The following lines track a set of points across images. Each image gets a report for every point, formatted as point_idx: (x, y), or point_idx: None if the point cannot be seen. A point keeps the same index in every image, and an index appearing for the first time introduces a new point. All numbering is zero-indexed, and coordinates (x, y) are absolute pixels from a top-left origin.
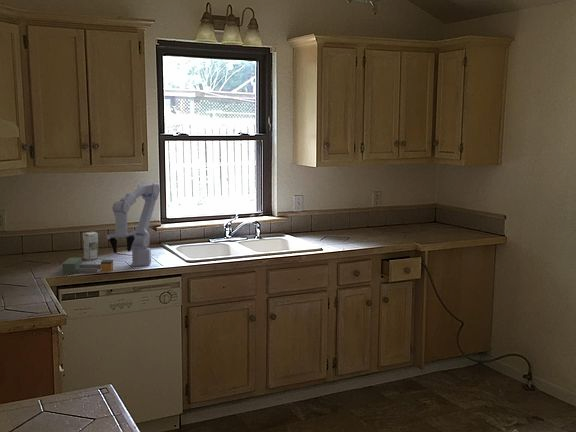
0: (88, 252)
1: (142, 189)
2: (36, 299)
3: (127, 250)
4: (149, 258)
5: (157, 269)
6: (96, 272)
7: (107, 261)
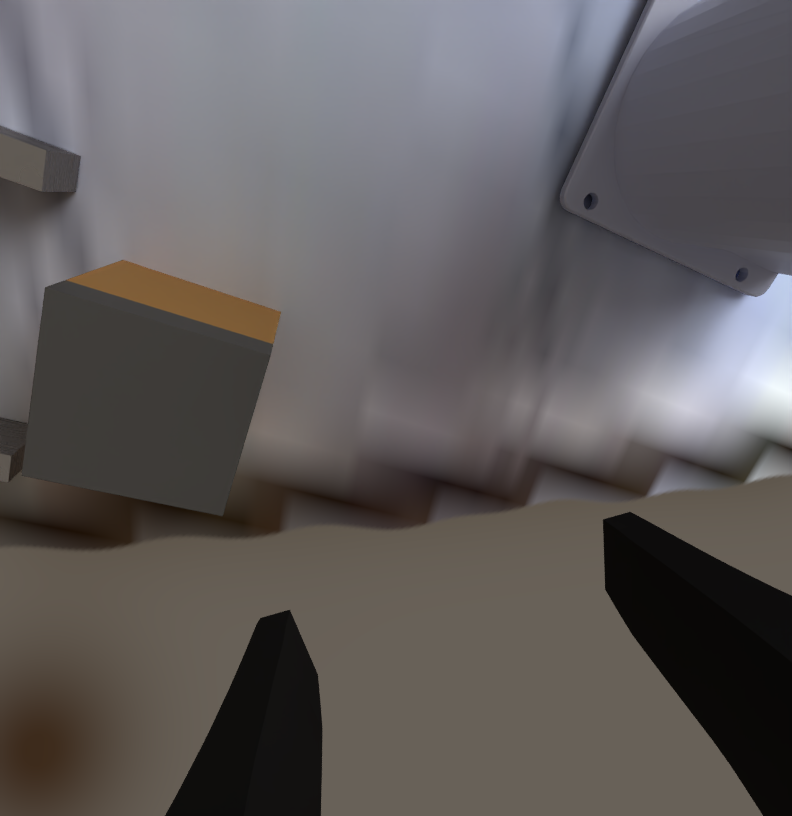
0: None
1: None
2: None
3: (607, 529)
4: None
5: (732, 482)
6: None
7: (155, 471)
